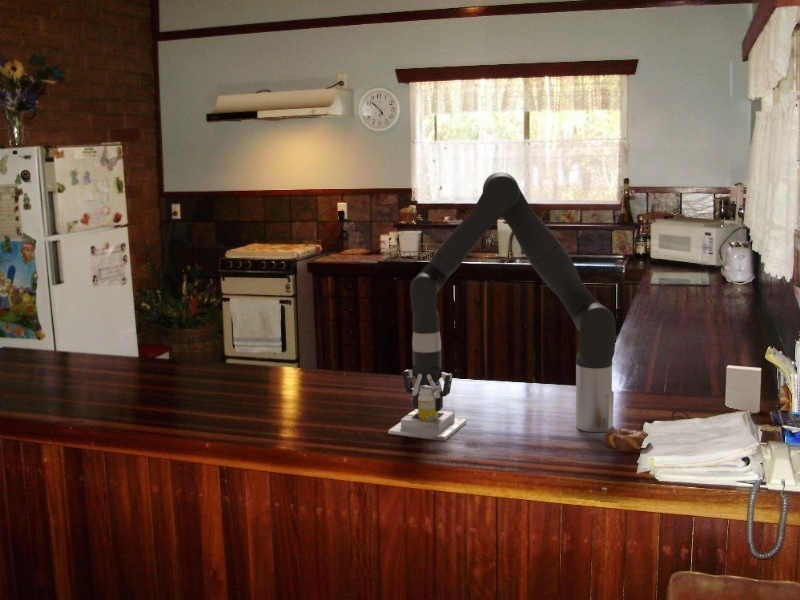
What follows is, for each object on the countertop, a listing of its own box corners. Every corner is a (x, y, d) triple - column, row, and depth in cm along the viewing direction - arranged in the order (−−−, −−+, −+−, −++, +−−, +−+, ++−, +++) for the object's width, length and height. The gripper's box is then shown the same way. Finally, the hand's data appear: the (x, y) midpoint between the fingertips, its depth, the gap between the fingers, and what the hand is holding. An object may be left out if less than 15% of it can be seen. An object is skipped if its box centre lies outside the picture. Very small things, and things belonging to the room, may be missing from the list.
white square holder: (466, 422, 245) (466, 409, 244) (444, 440, 230) (444, 427, 230) (412, 416, 251) (412, 404, 251) (388, 433, 237) (388, 420, 236)
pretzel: (644, 438, 230) (644, 424, 229) (657, 452, 219) (658, 437, 219) (597, 439, 230) (598, 425, 229) (608, 453, 219) (609, 439, 218)
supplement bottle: (432, 425, 237) (431, 390, 235) (414, 423, 239) (413, 388, 238) (441, 420, 241) (441, 385, 240) (424, 417, 244) (423, 383, 242)
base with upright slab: (722, 412, 249) (724, 370, 247) (727, 403, 256) (729, 362, 254) (757, 415, 244) (759, 373, 242) (761, 407, 252) (763, 365, 250)
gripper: (396, 349, 237) (398, 410, 239) (446, 353, 231) (448, 416, 234) (407, 343, 243) (409, 403, 246) (457, 346, 237) (458, 408, 240)
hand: (428, 409), depth 240 cm, fingers closed on supplement bottle, 5 cm apart
